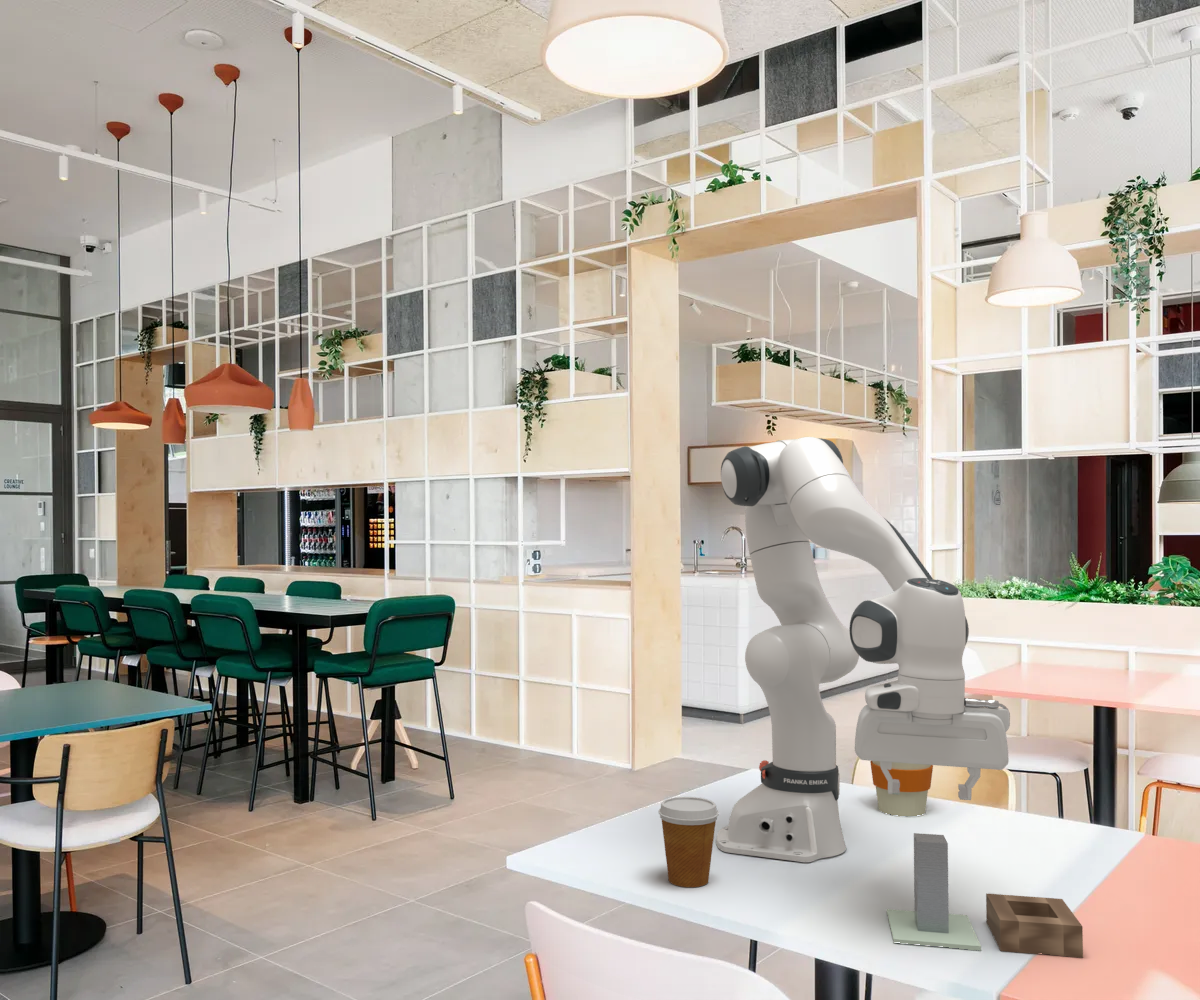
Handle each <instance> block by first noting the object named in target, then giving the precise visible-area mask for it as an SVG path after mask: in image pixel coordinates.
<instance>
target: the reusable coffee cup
mask: <svg viewBox="0 0 1200 1000" xmlns="http://www.w3.org/2000/svg"><path fill="white" fill-rule="evenodd" d="M869 762H870V771H871V776H872V777H871V778H872V784H873V785H874V786H875V791H876V798H877V807H878V811H879V810H880V811H879V812H881V811H882V812H884V813H883V814H885V813H887V814H886V815H888V814H891V815H890V816H893V815H898V816H897V817H900V816H917V815H922V814H924V813H925V814H926V808H927V800H928V793H929V790H930V789H931V787H932V777H933V769H934V765H924V764H910V763H896V762H892V769H891V770H888V771H889V773H890V775H891V777H892V779H897V780H899V782H900V788H899V790H900V795H896V794H888V781H887V779H886V777H885V775H884V773H883V771H882V770H881V767H880V761H869ZM882 812H881V813H882ZM925 814H924V815H925ZM922 816H923V815H922Z"/></svg>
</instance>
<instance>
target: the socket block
mask: <svg viewBox="0 0 1200 1000" xmlns="http://www.w3.org/2000/svg"><path fill="white" fill-rule="evenodd" d="M985 904H986V905H985V906H986V907H985V909H986V910H985V913H986V916H985V918H986V920H985V921H986V925H987V927H988V928H989V930H990V932H991V934H992V936H994V937H993V939H994V941H995V943H996V944H997V947H998V949H999V951H1000V952H1006V953H1007V952H1009V953H1019V954H1020V953H1021V954H1029V955H1030V954H1033V955H1039V954H1038V953H1042V954H1050V955H1049V956H1054V955H1061V956H1060V957H1066V956H1068V958H1069V957H1070V958H1078V957H1079V958H1080V959H1083V958H1084V946H1083V944H1084V941H1083V936H1084V935H1083V931H1084V930H1083V928H1084V927H1083V925H1082V923H1080V920H1078V918H1077V917H1076V915H1075V914H1074V913H1073V912H1072V910H1071V909H1070V907H1069V906H1068V904H1067V903H1066V902H1065V901H1064V899H1063V898H1053V897H1041V896H1040V897H1039V896H1030V895H1029V896H1028V895H1027V896H1025V895H1012V894H1000V893H999V894H997V893H985ZM1042 954H1041V955H1042Z"/></svg>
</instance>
